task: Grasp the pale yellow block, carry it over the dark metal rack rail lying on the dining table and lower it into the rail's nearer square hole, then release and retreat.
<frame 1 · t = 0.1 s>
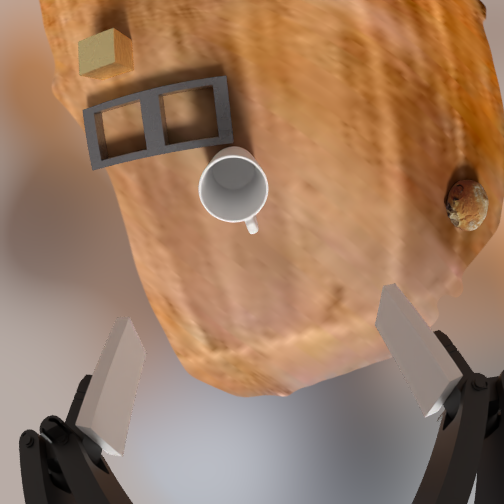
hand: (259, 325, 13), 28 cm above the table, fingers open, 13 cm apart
rack rail: (157, 121, 33), on the table
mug: (238, 178, 38), on the table
bread roll: (460, 201, 42), on the table
pale yellow block: (116, 60, 28), on the table
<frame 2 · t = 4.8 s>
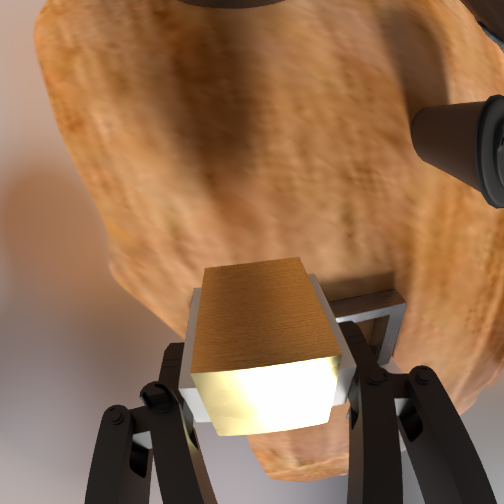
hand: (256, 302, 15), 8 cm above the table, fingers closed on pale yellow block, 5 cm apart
rack rail: (303, 340, 28), on the table
pale yellow block: (256, 300, 16), point 7 cm above the table, touching gripper
coffee cup: (431, 135, 19), on the table
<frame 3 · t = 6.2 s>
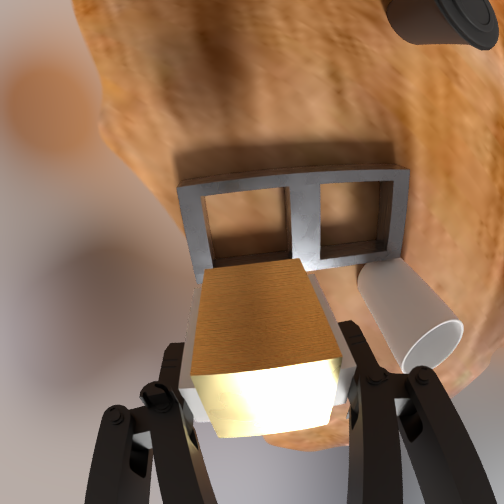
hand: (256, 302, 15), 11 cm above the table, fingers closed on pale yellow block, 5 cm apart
rack rail: (299, 215, 25), on the table
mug: (381, 285, 30), on the table
pale yellow block: (256, 302, 16), point 11 cm above the table, touching gripper
coffee cup: (408, 22, 16), on the table
when the fingers open (3 cm above the table, at t = 7.8 s): pale yellow block drops 2 cm, resting in rack rail.
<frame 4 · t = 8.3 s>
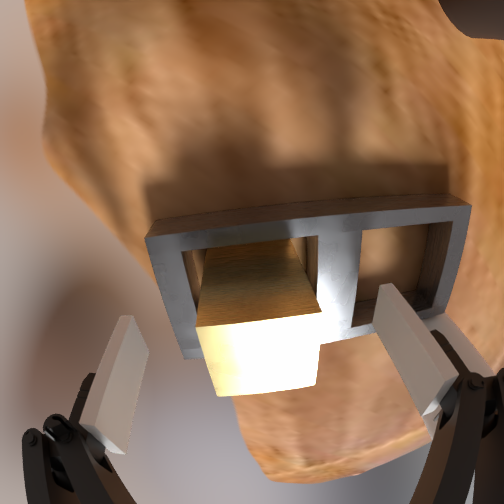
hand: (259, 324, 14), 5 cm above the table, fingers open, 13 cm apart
rack rail: (325, 266, 18), on the table
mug: (413, 337, 23), on the table
pale yellow block: (252, 278, 18), resting in rack rail
coffee cup: (459, 9, 9), on the table
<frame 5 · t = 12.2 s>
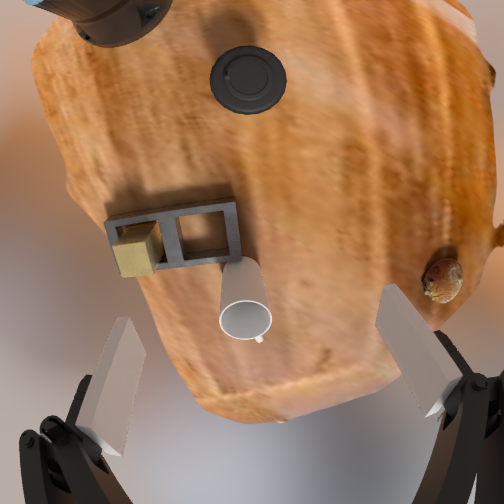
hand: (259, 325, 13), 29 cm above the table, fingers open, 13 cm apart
rack rail: (173, 234, 42), on the table
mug: (245, 279, 46), on the table
bread roll: (437, 275, 50), on the table
pale yellow block: (145, 239, 42), resting in rack rail
coffee cup: (244, 88, 33), on the table
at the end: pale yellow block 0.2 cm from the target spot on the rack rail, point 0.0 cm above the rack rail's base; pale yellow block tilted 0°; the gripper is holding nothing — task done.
